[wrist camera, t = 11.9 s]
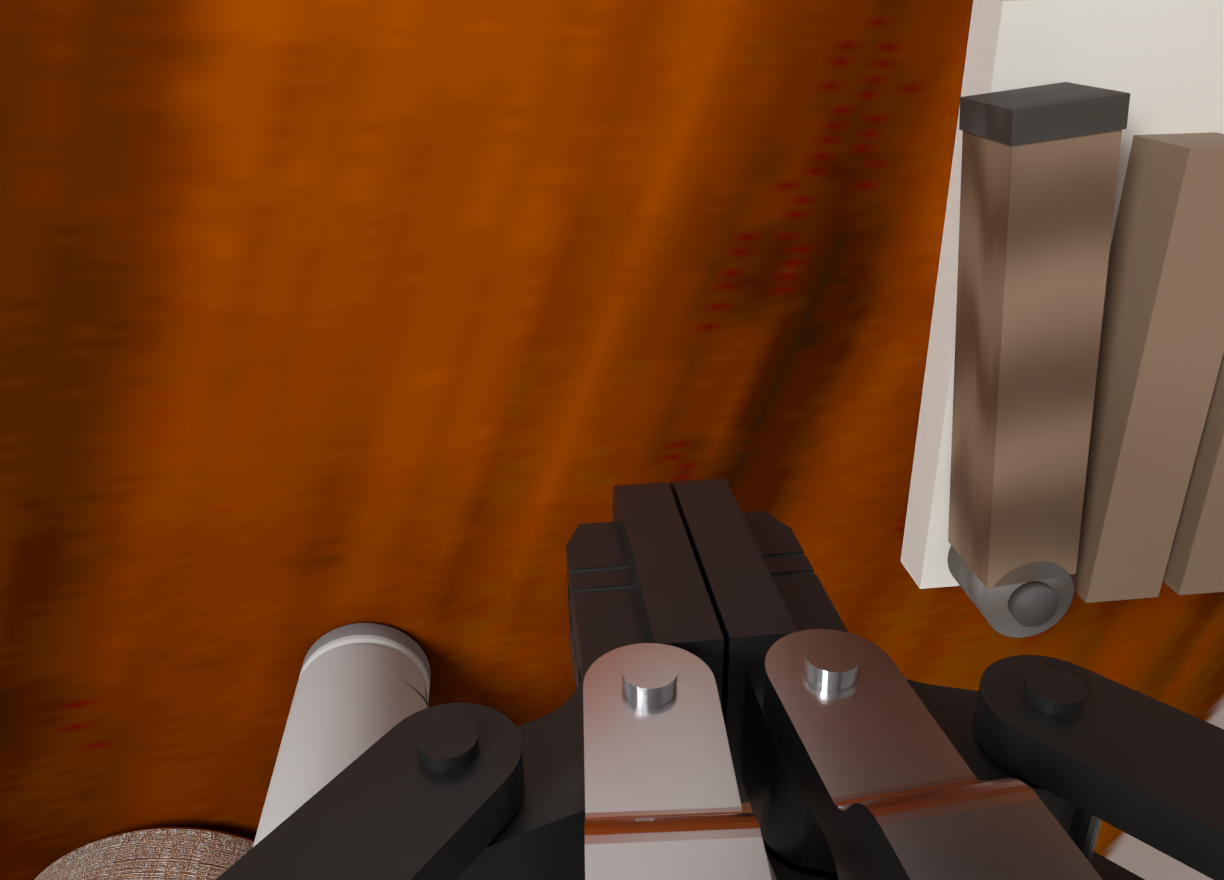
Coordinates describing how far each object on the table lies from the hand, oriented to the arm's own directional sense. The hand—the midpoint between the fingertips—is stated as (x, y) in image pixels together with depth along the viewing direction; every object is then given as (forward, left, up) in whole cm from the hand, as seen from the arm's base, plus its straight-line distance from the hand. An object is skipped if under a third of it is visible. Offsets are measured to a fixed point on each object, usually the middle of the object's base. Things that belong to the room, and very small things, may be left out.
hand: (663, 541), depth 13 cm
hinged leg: (+9, +19, -26) cm, 34 cm away
